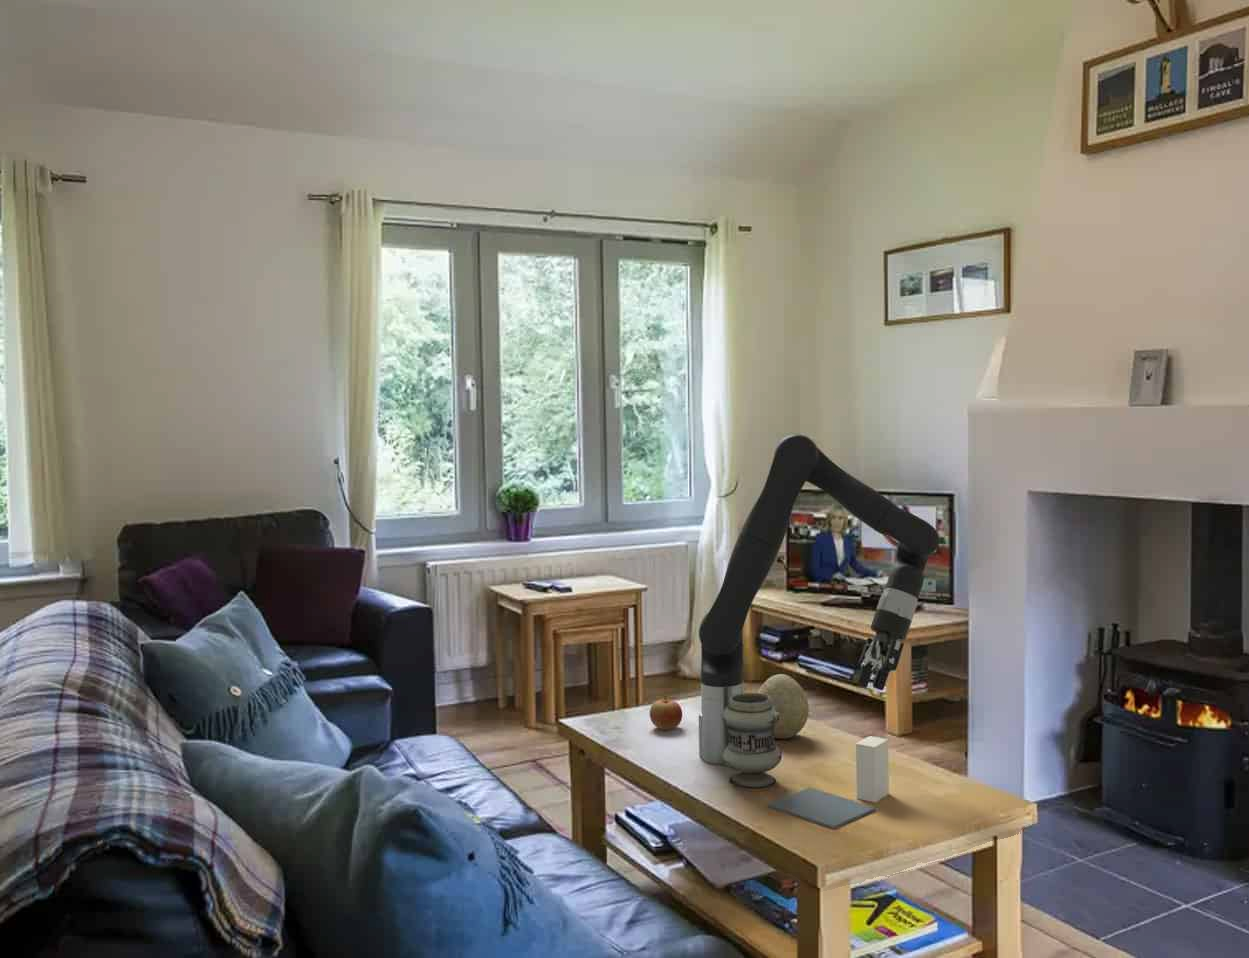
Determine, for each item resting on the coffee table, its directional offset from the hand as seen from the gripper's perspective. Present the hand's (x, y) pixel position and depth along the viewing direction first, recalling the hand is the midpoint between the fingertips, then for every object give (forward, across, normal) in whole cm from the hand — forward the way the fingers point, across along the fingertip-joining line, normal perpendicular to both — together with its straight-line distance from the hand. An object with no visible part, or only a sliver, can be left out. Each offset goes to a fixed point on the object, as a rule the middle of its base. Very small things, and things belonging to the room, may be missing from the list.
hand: (869, 687), depth 217 cm
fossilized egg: (+16, -35, -2) cm, 39 cm away
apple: (+24, -49, -26) cm, 60 cm away
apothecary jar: (+27, -7, -14) cm, 31 cm away
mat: (+26, +9, -5) cm, 28 cm away
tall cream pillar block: (+20, +6, +6) cm, 22 cm away
